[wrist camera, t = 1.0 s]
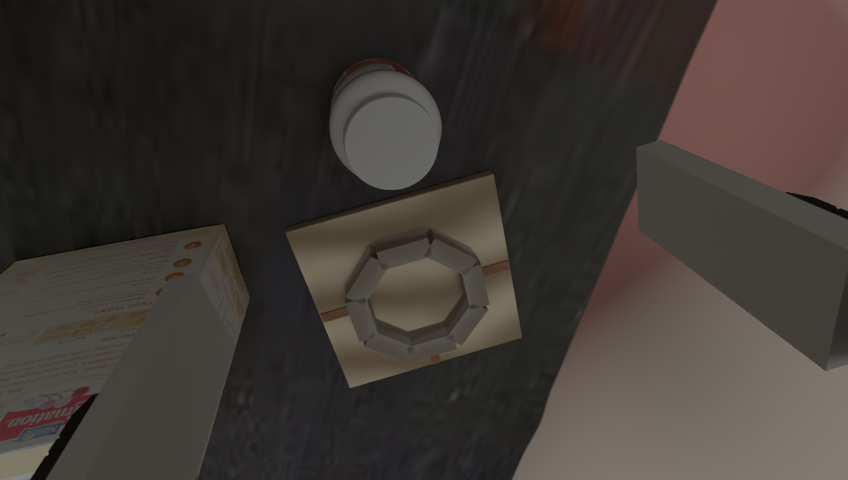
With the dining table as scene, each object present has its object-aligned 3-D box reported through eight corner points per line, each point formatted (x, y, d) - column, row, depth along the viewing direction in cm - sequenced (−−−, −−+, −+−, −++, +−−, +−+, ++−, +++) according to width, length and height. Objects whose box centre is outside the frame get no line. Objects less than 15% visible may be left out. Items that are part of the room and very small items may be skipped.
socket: (286, 226, 36) (282, 245, 34) (489, 169, 37) (501, 183, 34) (349, 380, 44) (350, 404, 41) (518, 330, 44) (529, 351, 42)
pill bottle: (429, 134, 35) (465, 187, 25) (347, 157, 35) (350, 219, 25) (408, 45, 32) (440, 65, 22) (319, 69, 32) (310, 100, 22)
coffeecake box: (59, 337, 37) (-181, 626, 20) (11, 258, 34) (-323, 521, 17) (253, 300, 39) (185, 542, 21) (226, 220, 35) (119, 430, 18)
